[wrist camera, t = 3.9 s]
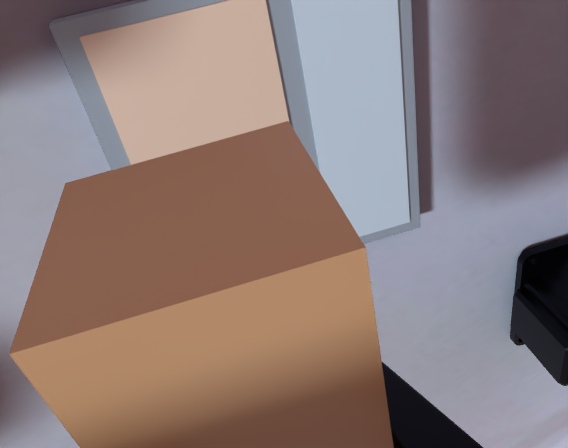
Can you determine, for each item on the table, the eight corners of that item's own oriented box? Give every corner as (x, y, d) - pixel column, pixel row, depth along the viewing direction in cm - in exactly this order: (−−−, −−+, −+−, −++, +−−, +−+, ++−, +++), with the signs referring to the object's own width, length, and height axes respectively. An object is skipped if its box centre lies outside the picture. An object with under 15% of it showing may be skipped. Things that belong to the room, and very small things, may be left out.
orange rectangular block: (288, 121, 8) (365, 247, 5) (361, 465, 14) (417, 621, 11) (65, 183, 8) (9, 354, 5) (233, 507, 13) (255, 678, 11)
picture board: (398, -65, 16) (410, -64, 15) (412, 217, 22) (421, 228, 21) (52, 19, 15) (47, 25, 14) (168, 289, 21) (168, 302, 21)
